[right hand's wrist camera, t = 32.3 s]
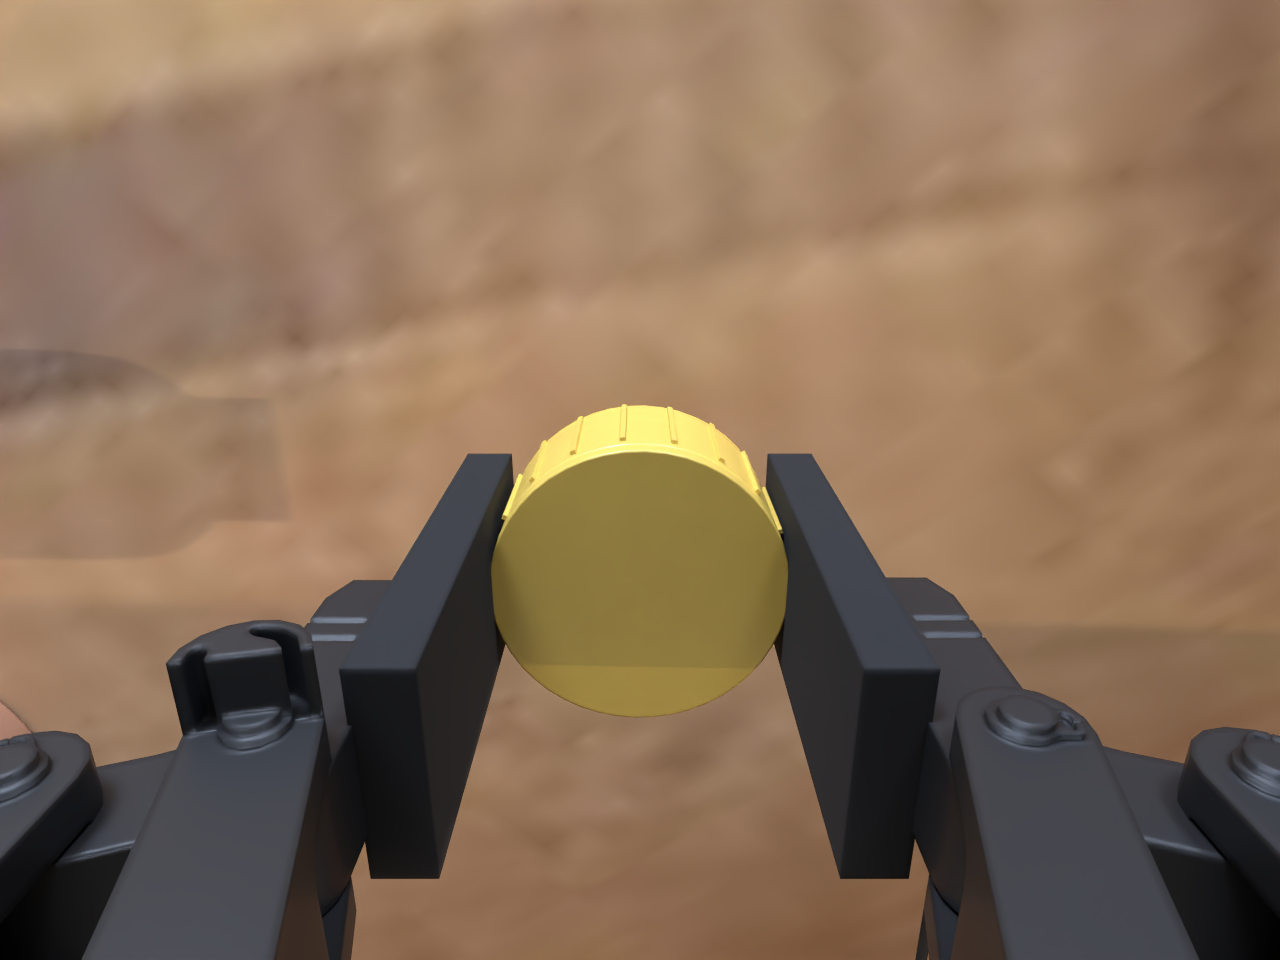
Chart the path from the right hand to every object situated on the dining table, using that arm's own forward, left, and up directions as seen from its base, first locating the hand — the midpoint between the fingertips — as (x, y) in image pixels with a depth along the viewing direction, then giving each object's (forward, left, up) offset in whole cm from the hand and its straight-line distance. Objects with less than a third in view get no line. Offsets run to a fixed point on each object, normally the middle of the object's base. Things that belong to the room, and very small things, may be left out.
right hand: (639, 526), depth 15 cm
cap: (0, 0, +2) cm, 2 cm away
